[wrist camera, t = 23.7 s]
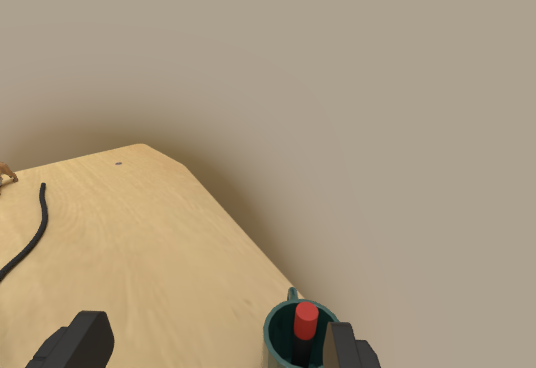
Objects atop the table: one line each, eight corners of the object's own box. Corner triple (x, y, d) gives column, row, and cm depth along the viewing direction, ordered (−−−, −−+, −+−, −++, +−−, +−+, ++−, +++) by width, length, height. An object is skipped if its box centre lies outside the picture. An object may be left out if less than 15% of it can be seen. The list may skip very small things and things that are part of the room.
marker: (283, 388, 36) (291, 310, 30) (295, 375, 37) (305, 297, 31) (297, 403, 34) (308, 324, 28) (309, 389, 36) (323, 311, 30)
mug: (339, 431, 33) (357, 371, 28) (262, 436, 32) (265, 375, 27) (315, 331, 44) (325, 274, 39) (258, 333, 43) (260, 276, 38)
